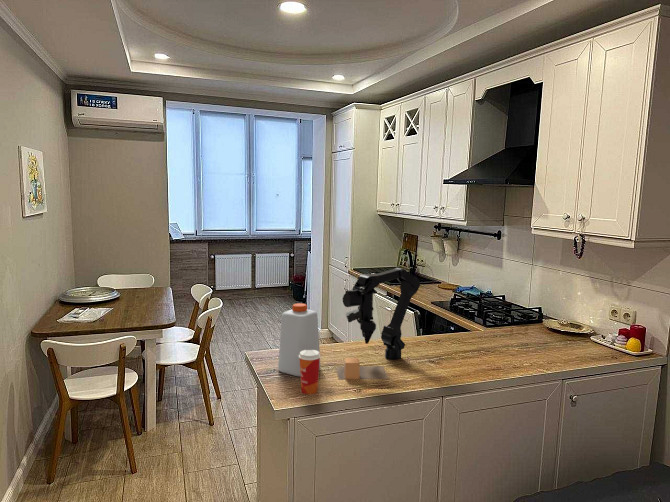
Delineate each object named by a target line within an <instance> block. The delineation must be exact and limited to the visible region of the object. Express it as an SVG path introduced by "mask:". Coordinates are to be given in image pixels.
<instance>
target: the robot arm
mask: <svg viewBox="0 0 670 502" xmlns="http://www.w3.org/2000/svg"><path fill="white" fill-rule="evenodd" d="M394 280H397V281H398V282H399V283H400V286H399V289H400V295H399V298H398V299H397V300H398V301H397V303H396V306H395V309H394V312H393V314H392V316H391V317H392V318H391V320H390V322H389V324H387V325H384V326H383V327H382V331H381V332H380V334H381V336H380V338H381V341H382V343H383V346H386V347H385V350H384V358H385V360H391V361H398V360H402V350H403V349H405V346H406V344H405V342H404V341H403V340H402V339H401V338H402V335H403V334H402V329H401V327H402V325H403V322H404V318H405V315H406V314H407V312H408V308H409V305H410V302H411V299H412V297H414V295H415V294H417V292H418V291H419V289H420V287H421V281H420V278H419V277H416V276H414V275H413V274H411V273H409V271H407V270H406V269H404V268H401V267H395V268H392V269H388V270H385V271H382V272H378V273H377V272H376V273H362V274H360V275H359V276H358V278H357V280H356V282H355V284H354V285H353V287H352V289H350V290H348V289H347V290H345V293H344V294H343V296H342V304H343V305H344V307H345V308H351V307H357V309H353V310H351V311H347V312H345V316H346V320H347V321H348V323H352V322H353V321H357V322H358V324H359V328H360V331H361V335H362V337H363V338H364V341H365V344H369V342H370V340H371V338H372V336H373V335H374V332H375V331H376V329H377V324H376V322H375V321H374V316H373V315H374V314H373V311H374V305H373V304H374V294H375V295H376V294H377V293H378V291H377V290H376V289H375V288H378V286H379V285H380V284H383V283H386V282H390V281H394Z"/></svg>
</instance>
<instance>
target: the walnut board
mask: <svg viewBox="0 0 670 502" xmlns="http://www.w3.org/2000/svg"><path fill="white" fill-rule="evenodd" d="M335 368H336V374H337V378H338V380H339V381H340V380H341V381H342V380H346V379H345V375H344V365H342V366H335ZM358 380H389V376H388V374H387V372H386V370H385V367H384V365H360V374H359V379H358Z"/></svg>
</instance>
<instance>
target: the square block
mask: <svg viewBox="0 0 670 502" xmlns="http://www.w3.org/2000/svg"><path fill="white" fill-rule="evenodd" d="M360 364H361V363H360V359H359V357H345V358H344V360H343V366H344V375H345V379H344V380H360V379H359V374H360V366H361V365H360Z"/></svg>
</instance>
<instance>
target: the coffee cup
mask: <svg viewBox="0 0 670 502" xmlns="http://www.w3.org/2000/svg"><path fill="white" fill-rule="evenodd" d="M299 358H300V376H301V377H300V390H301V393H302V394H304V395H314V394H317V393H318V390H319V389H318V388H319V373H320V368H319V361H320V362H321V354H320V353H319V351H317V350H303V351H301V352H300V355H299Z"/></svg>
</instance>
